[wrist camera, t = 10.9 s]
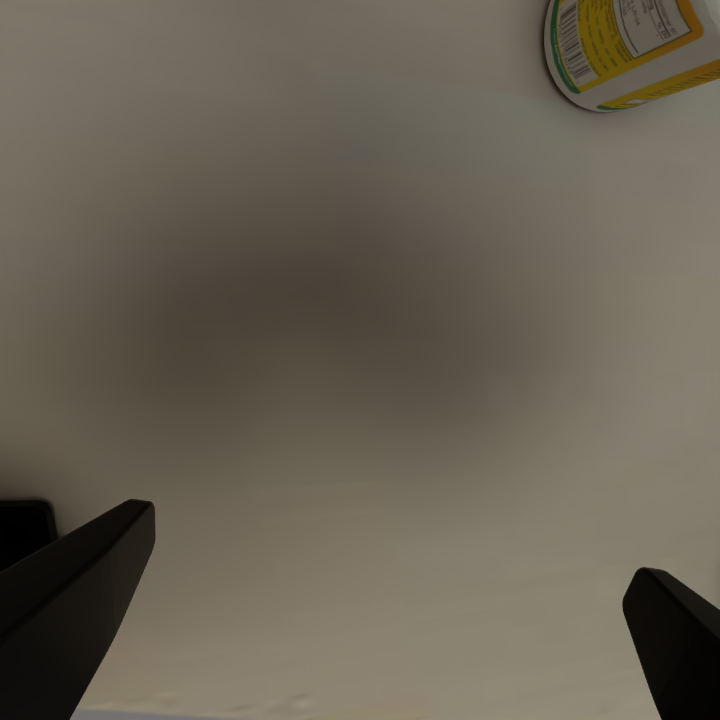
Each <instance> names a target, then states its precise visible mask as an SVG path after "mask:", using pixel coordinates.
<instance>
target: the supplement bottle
mask: <svg viewBox="0 0 720 720" xmlns="http://www.w3.org/2000/svg"><path fill="white" fill-rule="evenodd" d="M544 48H545V55H546V60H547V64H548V67H549V70H550V73H551V75H552V77H553V79H554V81H555V83H556V84H557V86H558V87H559V89H560V90H561V91H562V92H563V93H564V95H565V96H567V97H568V98H569V99H570V100H571V101H573V102H574V103H575V104H577V105H579V106H581V107H583V108H586V109H589V110H592V111H596V112H614V111H620V110H624V109H628V108H631V107H634V106H638V105H641V104H644V103H646V102H649V101H652V100H655V99H659V98H662V97H665V96H667V95H670V94H673V93H676V92H679V91H682V90H686V89H689V88H692V87H695V86H698V85H701V84H704V83H707V82H710V81H713V80H716V79H719V78H720V0H551V1H550V4H549V7H548V11H547V15H546V20H545V30H544Z"/></svg>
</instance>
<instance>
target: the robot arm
mask: <svg viewBox="0 0 720 720" xmlns="http://www.w3.org/2000/svg"><path fill="white" fill-rule="evenodd" d="M33 511H34V512H37V513H38V514H39V515H40V516H38V515H36V514H34V513H33ZM154 544H155V507H154V504H153V503H152V502H150V501H144V500H137V499H130V500H127V501H125V502H123V503H121V504H120V505H118V506H116V507H114V508H113V509H111V510H109V511H107V512H106V513H104V514H102V515H100V516H99V517H97V518H95V519H93V520H92V521H90V522H88V523H86V524H84V525H83V526H81V527H79V528H77V529H76V530H74V531H72V532H70V533H69V534H67V535H65V536H63V537H62V538H60V539H58V540H57V537H56V532H55V526H54V521H53V516H52V511H51V508H50V506H49V505H48V504H47V503H44V502H42V501H0V720H70V718H71V716H72V714H73V712H74V711H75V709H76V707H77V705H78V703H79V702H80V700H81V698H82V696H83V694H84V693H85V691H86V689H87V687H88V685H89V684H90V682H91V680H92V678H93V676H94V675H95V673H96V671H97V669H98V667H99V666H100V664H101V662H102V660H103V658H104V657H105V655H106V653H107V651H108V649H109V647H110V645H111V643H112V642H113V640H114V638H115V636H116V634H117V631H118V629H119V627H120V625H121V623H122V620H123V618H124V616H125V613H126V611H127V609H128V606H129V604H130V602H131V599H132V597H133V595H134V593H135V590H136V588H137V586H138V583H139V581H140V579H141V576H142V574H143V572H144V569H145V567H146V565H147V562H148V560H149V558H150V555H151V553H152V551H153V547H154ZM623 612H624V616H625V619H626V622H627V625H628V628H629V631H630V633H631V636H632V639H633V642H634V645H635V648H636V651H637V654H638V657H639V660H640V663H641V666H642V669H643V672H644V675H645V677H646V680H647V683H648V686H649V689H650V692H651V694H652V697H653V700H654V703H655V705H656V707H657V710H658V712H659V715H660V717H661V720H720V610H719V609H718V608H716V607H715V606H714V605H712V604H711V603H709V602H708V601H707V600H705V599H704V598H702V597H701V596H700V595H698V594H697V593H695V592H694V591H693V590H691V589H690V588H689V587H687V586H686V585H684V584H683V583H682V582H680V581H679V580H677V579H676V578H675V577H673V576H672V575H670V574H669V573H668V572H666V571H664V570H661V569H654V568H646V567H642V568H640V569H638V570H637V571H636V573H635V575H634V577H633V579H632V581H631V583H630V585H629V587H628V589H627V591H626V593H625V595H624V598H623Z"/></svg>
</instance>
